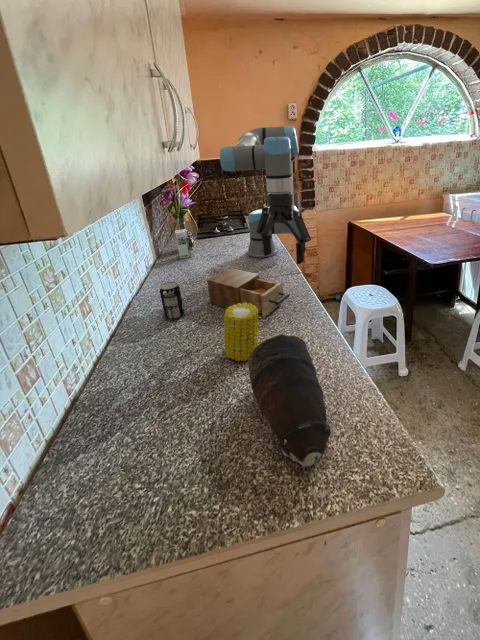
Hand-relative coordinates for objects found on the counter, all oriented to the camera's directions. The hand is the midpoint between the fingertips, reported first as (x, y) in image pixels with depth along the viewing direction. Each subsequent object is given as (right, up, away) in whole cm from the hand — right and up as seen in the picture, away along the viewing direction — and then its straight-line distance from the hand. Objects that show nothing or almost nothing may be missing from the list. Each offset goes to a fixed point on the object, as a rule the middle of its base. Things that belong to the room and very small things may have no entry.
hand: (283, 258), depth 100 cm
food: (-11, -27, -11) cm, 31 cm away
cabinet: (-19, -16, +19) cm, 31 cm away
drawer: (-7, -17, +12) cm, 22 cm away
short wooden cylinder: (-9, -16, +13) cm, 22 cm away
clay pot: (+2, -35, -33) cm, 48 cm away
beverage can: (-39, -21, +10) cm, 45 cm away
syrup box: (-54, 0, +68) cm, 88 cm away
